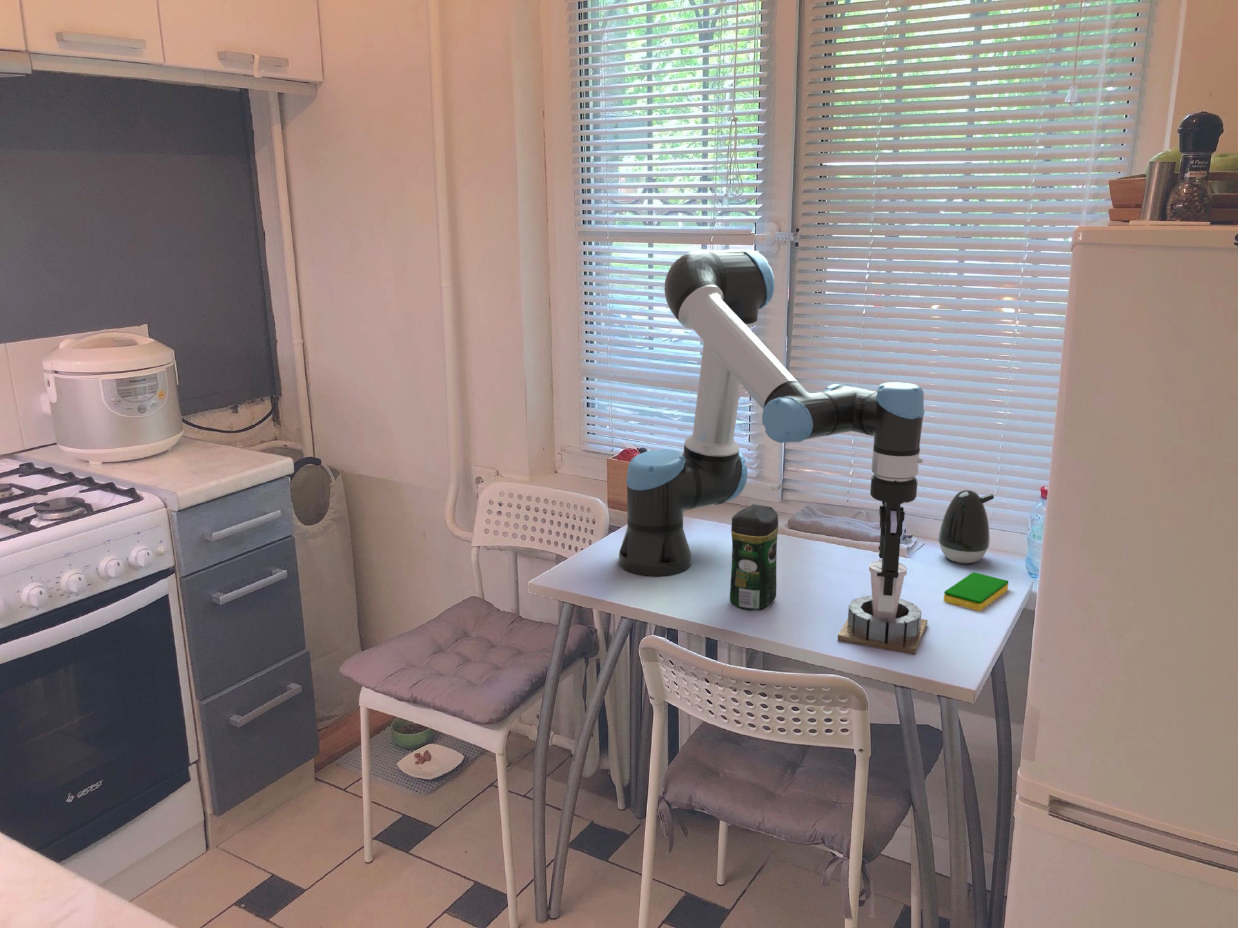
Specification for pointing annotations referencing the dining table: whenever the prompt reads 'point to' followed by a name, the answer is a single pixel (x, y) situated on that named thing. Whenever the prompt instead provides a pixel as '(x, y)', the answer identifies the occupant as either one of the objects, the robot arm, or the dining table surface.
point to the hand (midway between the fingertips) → (885, 602)
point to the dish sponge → (976, 591)
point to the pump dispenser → (965, 528)
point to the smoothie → (875, 581)
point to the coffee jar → (754, 557)
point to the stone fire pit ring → (884, 627)
